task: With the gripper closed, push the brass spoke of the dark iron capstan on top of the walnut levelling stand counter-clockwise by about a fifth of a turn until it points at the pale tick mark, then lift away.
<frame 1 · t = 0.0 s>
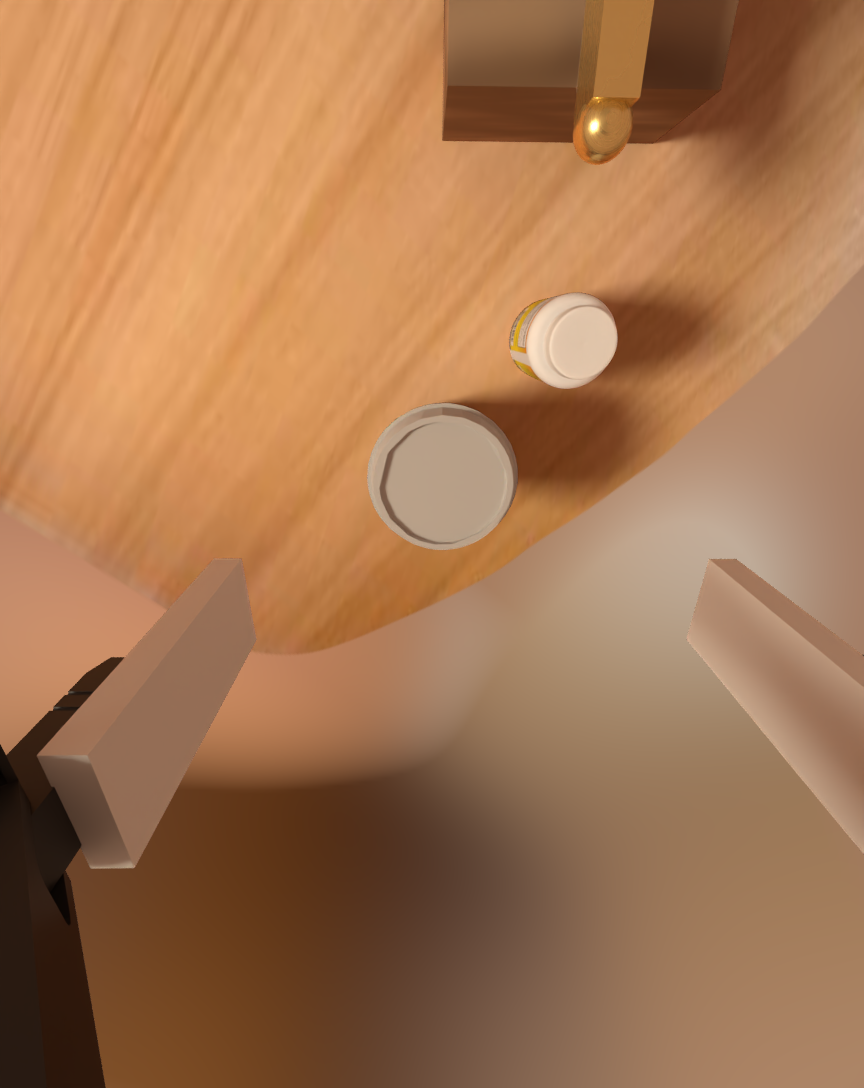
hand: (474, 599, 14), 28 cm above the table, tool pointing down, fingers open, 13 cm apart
supplement bottle: (543, 339, 37), on the table
disposable coffee cup: (438, 441, 40), on the table
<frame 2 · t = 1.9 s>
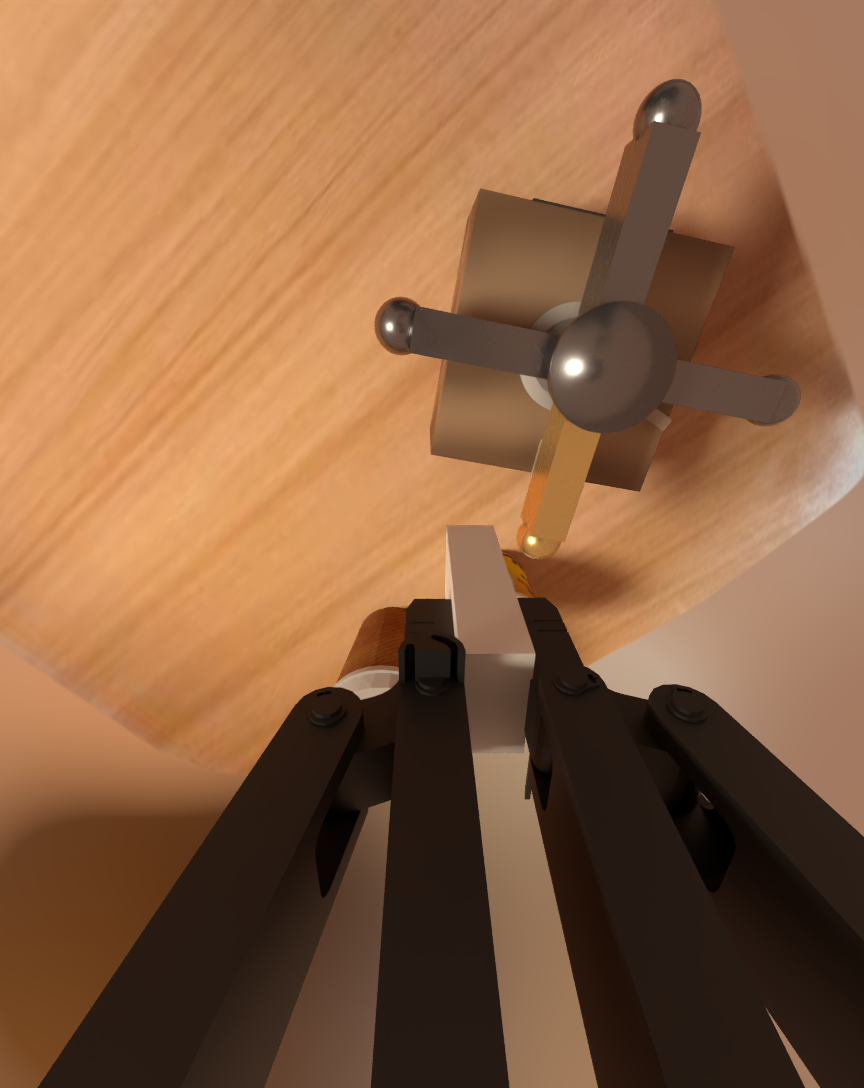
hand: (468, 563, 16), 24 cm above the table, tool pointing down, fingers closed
supplement bottle: (492, 574, 43), on the table
stand: (540, 351, 35), on the table
disposable coffee cup: (392, 633, 46), on the table
capstan: (589, 364, 24), point 12 cm above the table, hinge at 0.0°
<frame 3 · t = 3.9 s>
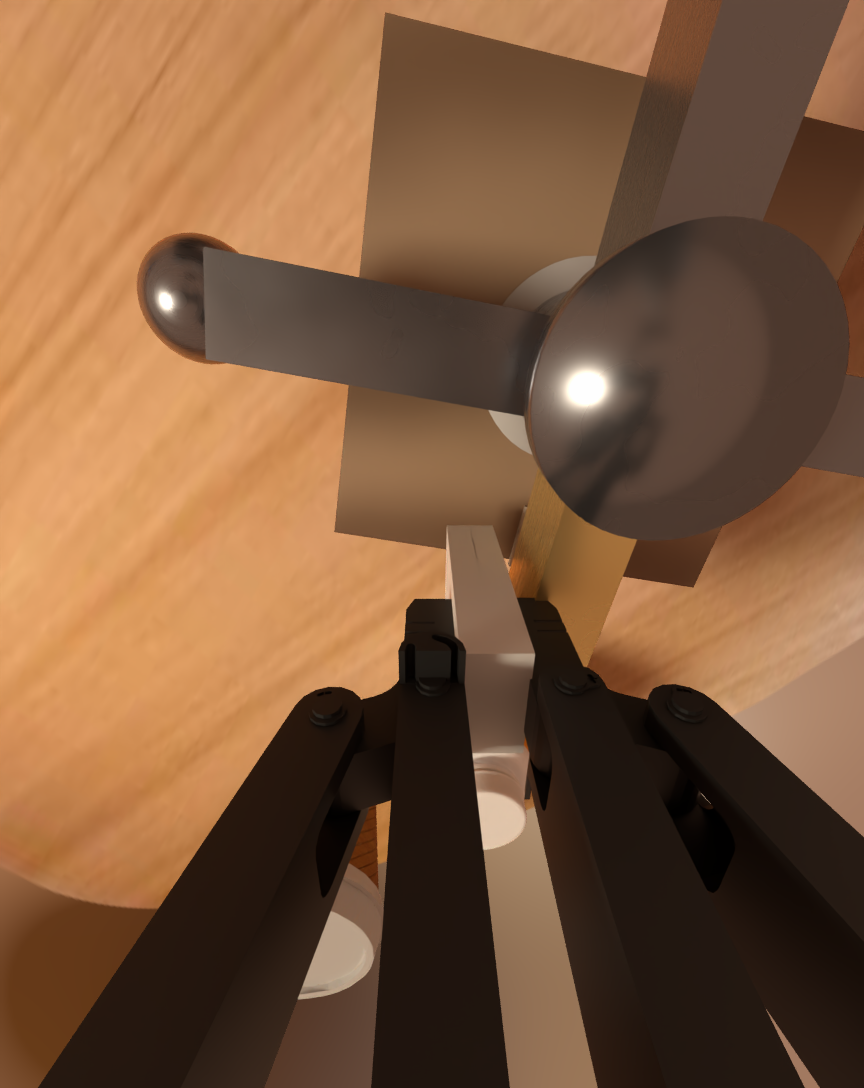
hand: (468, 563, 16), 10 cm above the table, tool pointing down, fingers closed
supplement bottle: (465, 668, 30), on the table
stand: (526, 352, 22), on the table
disposable coffee cup: (329, 743, 33), on the table
capstan: (617, 379, 12), point 12 cm above the table, hinge at 0.1°, touching gripper
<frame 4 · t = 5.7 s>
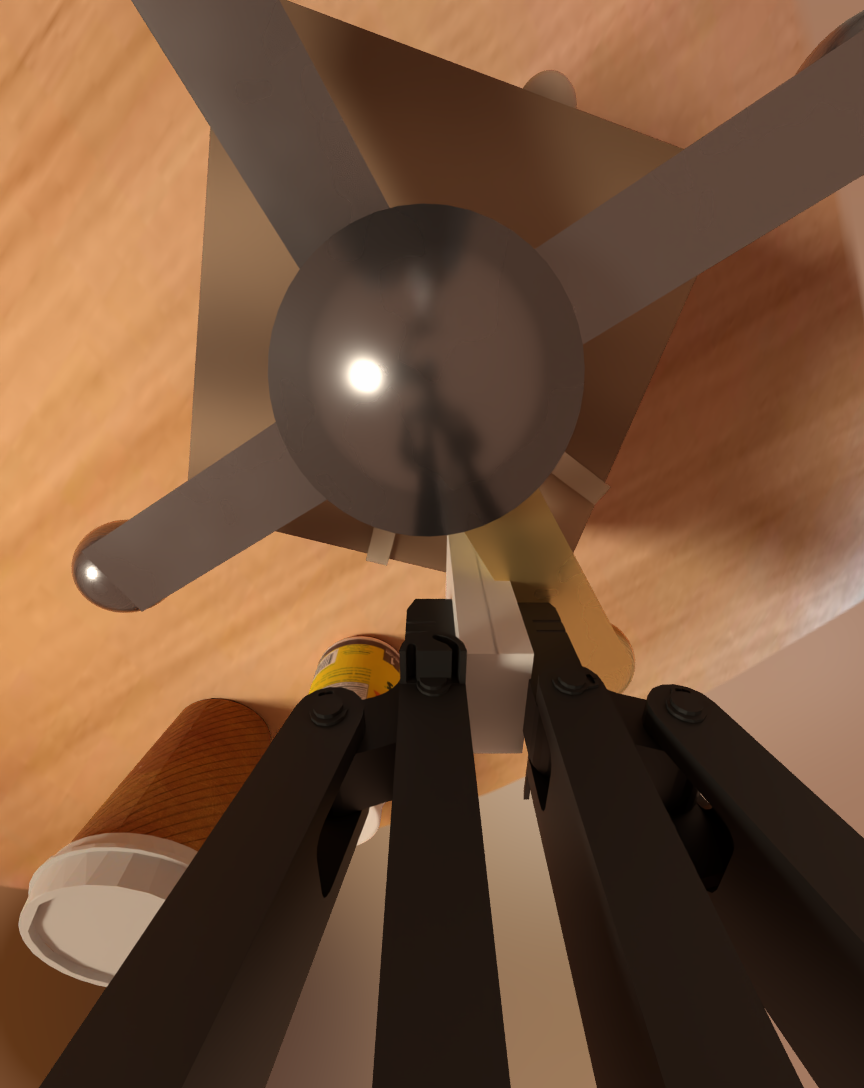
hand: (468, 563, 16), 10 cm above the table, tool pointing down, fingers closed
supplement bottle: (364, 665, 30), on the table
stand: (427, 350, 22), on the table
disposable coffee cup: (225, 731, 32), on the table
capstan: (427, 374, 12), point 12 cm above the table, hinge at 46.6°, touching gripper
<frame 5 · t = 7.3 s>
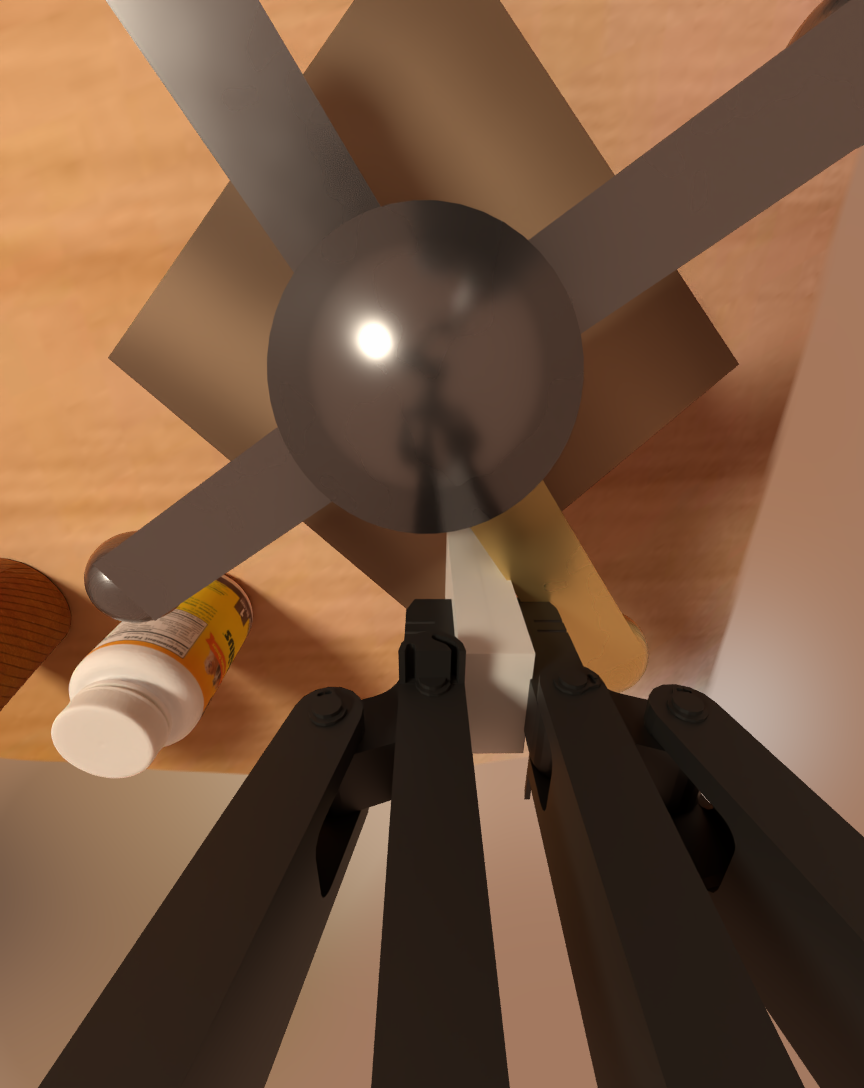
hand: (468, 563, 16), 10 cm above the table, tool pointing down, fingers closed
supplement bottle: (210, 603, 28), on the table
stand: (426, 348, 22), on the table
disposable coffee cup: (17, 603, 28), on the table
capstan: (426, 372, 12), point 12 cm above the table, hinge at 79.4°, touching gripper
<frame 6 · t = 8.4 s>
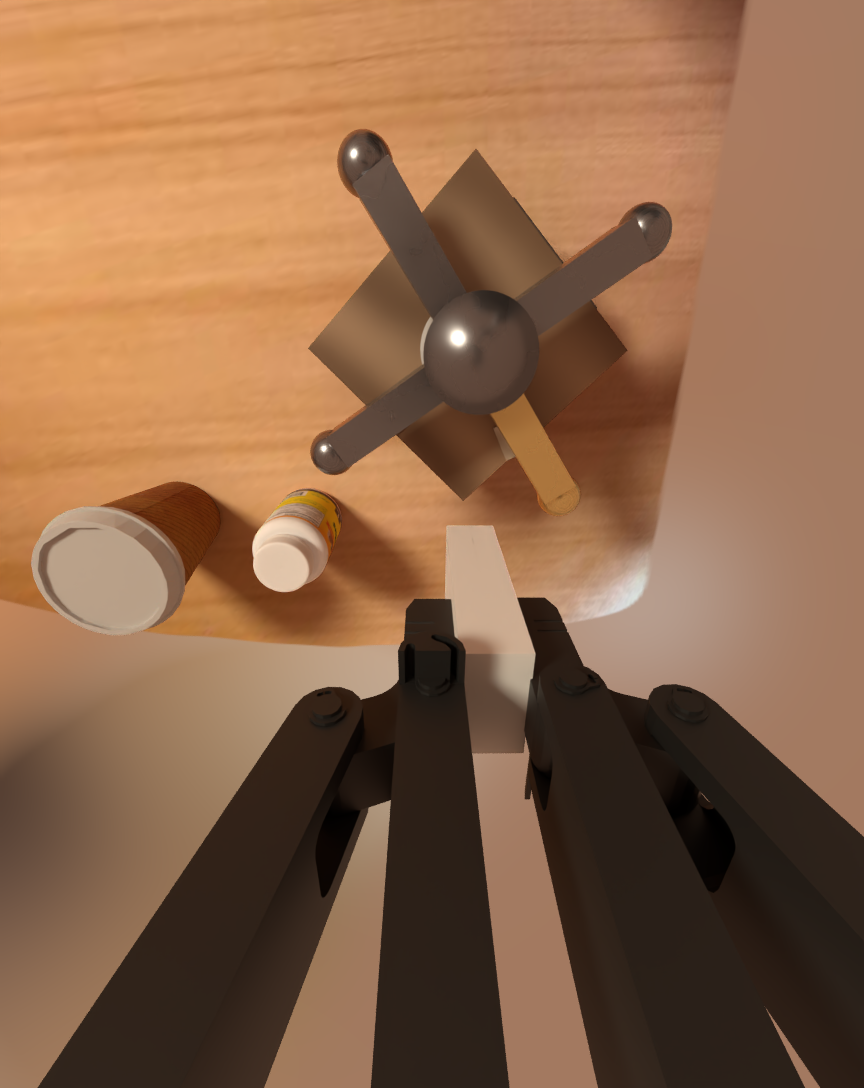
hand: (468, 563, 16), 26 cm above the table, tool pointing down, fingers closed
supplement bottle: (312, 514, 43), on the table
stand: (459, 344, 37), on the table
disposable coffee cup: (185, 514, 42), on the table
capstan: (474, 352, 26), point 12 cm above the table, hinge at 79.2°
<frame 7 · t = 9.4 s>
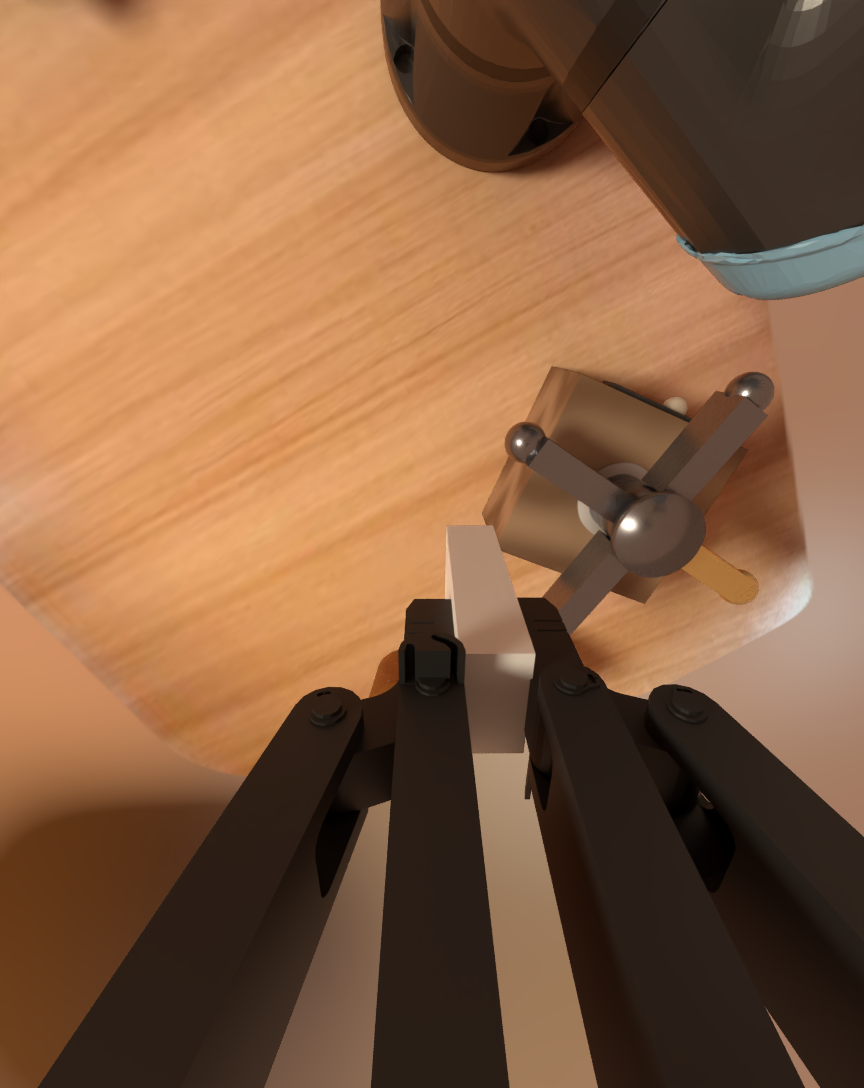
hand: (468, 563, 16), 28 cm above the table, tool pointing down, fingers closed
stand: (583, 472, 43), on the table
disposable coffee cup: (406, 671, 52), on the table
capstan: (637, 518, 33), point 12 cm above the table, hinge at 79.2°
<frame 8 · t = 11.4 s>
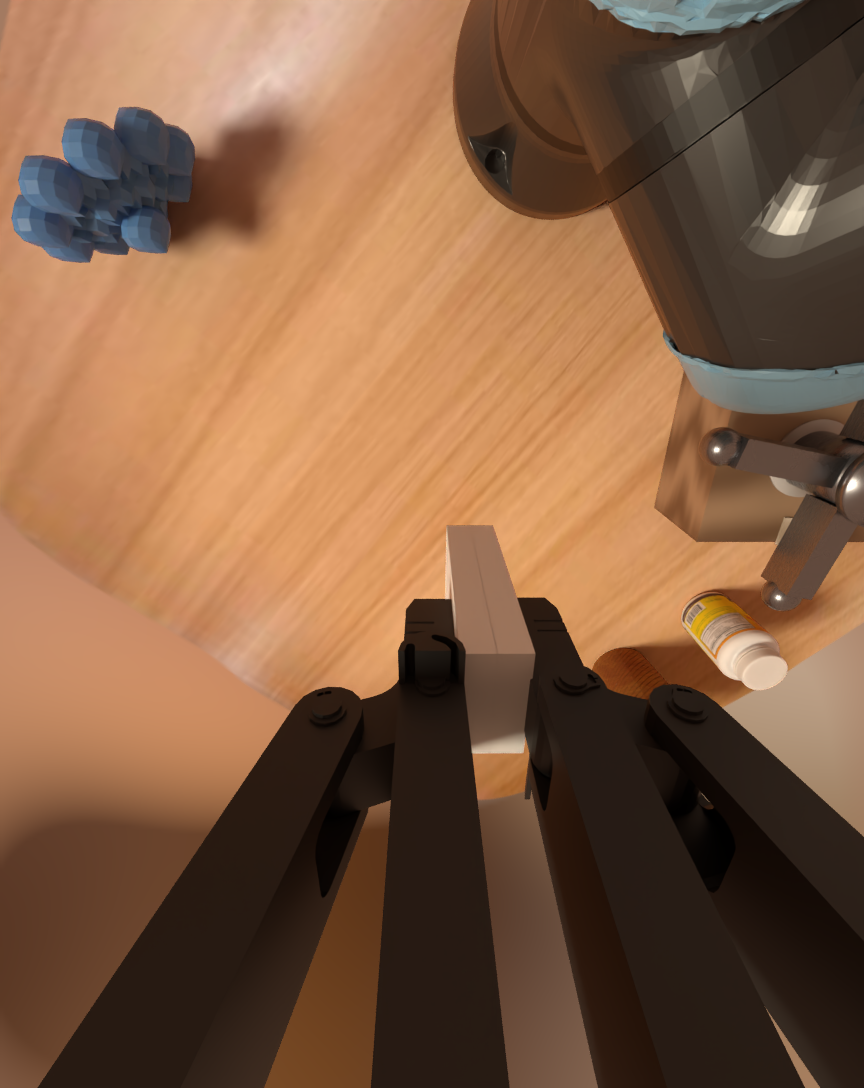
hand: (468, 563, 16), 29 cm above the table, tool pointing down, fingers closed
supplement bottle: (703, 610, 52), on the table
stand: (745, 436, 44), on the table
disposable coffee cup: (618, 668, 55), on the table
grapes: (170, 223, 36), on the table
capstan: (848, 472, 33), point 12 cm above the table, hinge at 79.2°
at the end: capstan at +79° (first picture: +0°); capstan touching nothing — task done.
